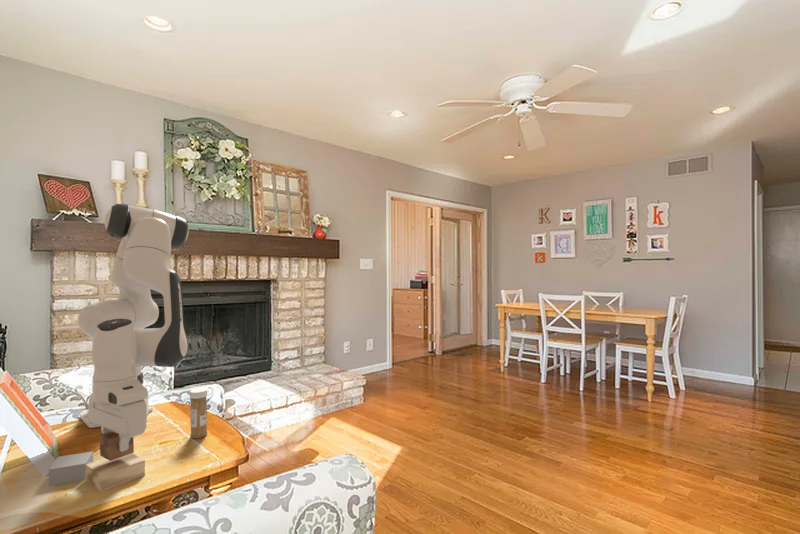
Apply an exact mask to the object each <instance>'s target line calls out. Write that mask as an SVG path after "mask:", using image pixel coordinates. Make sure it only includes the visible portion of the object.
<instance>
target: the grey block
mask: <svg viewBox="0 0 800 534" xmlns="http://www.w3.org/2000/svg"><path fill="white" fill-rule="evenodd" d="M92 462H94V451H93V450H92V451H87V452H80V453H74V454H65V455H61V456H60V455H59V456H58V457H57V458H56V460H55V461H54V462H53V463H52V464H51V466H50V467H49V469H48V486H55V485H62V484H67V483H71V482H72V483H73V482H79V481H84V480H85V481H86V464H89V463H92Z"/></svg>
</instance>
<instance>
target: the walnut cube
mask: <svg viewBox="0 0 800 534" xmlns="http://www.w3.org/2000/svg"><path fill="white" fill-rule="evenodd" d="M119 441H120V437H119V434H118V433H116V432H113V431H110V432H107V433H104V434H102V433H100V434H99V453H100V454H99V456H100V457H101V458H103V459H104V458H106V459H108V460H110V461H112V460H115V459H117V458H120V457H123V456H126V455H128V454H131V453H133V454H135V453H134V451H135V449H134V447H135V446H134V445H135V443H134V437H131V438H130V440H129V448H128V450H126V451H123V452H121V451H119V450H118V449H117V448H118V447H117V443H119Z"/></svg>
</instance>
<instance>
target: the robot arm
mask: <svg viewBox="0 0 800 534" xmlns="http://www.w3.org/2000/svg"><path fill="white" fill-rule="evenodd" d="M103 221H104V227H105V232H106V233H107V234H108V236H110V237H112V238H115V239H117V240H120V243H119V246H118V248H117V252H116V255H115V259H114V264H113V267H112V271H111V275H110V279H111V282H112V283H113V284H114V285H115V286H116V287H117V288H118V289H119V294H118V298H117V299H110V300H100V301H97V302H94V303H90V304H89V305H85V306H84V307H82V309H81V310H79V311H80V312H79V313H78V317H77V325H78V328H79V329H80V331H81V332H82V333H83V334H84V335H86V336H88V337H89V338H91V339H92V347H91V350H92V351H91V361H92V364H93V368H94V369H93V370H94V371H93V374H92V379H91V380H92V381H91V383H92V393H91V394H90V395H89V397H88V398H89V399H88V402H85V405H84V407H85V410H86V411H82V412H81V413H80V414H79V419H80V420H82V421H83V422H84V424H85V426H87V427H88V428H89V429H93V428H100V431H101V434H104V433H107V432H110V431H113V432H116V433H118V434H119V437H120V441H119V443H117V447H118V448H117V449H118V450H119V451H121V452H123V451H126V450H128V448H129V440H130V438H131V437H133V438H135V437H137V436H140V435H142V434H145V431H146V428H147V422H148V421H147V419H148V418H147V417H148V415H149V413H151V412H153V407H152V406H150V405H149V397H148V396H149V391H148V388H147V387H146V386H145V385H144V378H145V376H144V372H142V367H164V368H166V367H167V368H173V367H175V366H176V365H179V363H181V362H182V361H183V360H184V359H185V357H187V353H188V340H187V334H186V325H185V314H184V313H185V312H184V311H185V310H184V300H183V288H182V282H181V278H180V276H179V273H178V272H176V270H173V268H172V267H171V266H172V265H171V254H172V250H175V249H176V250H177V249H179V248H181V247H183V246H184V244H185V242H187V239H188V237H189V224H188V222H187V220H186V219H185V218H182V217H181V216H178V215H173V214H170V213H167V212H164V211H162V210H161V211H160V210H157V209H154V208H153V209H152V208H145V207H140V206H135V205H129V204H126V203H115V204H114V205H112V206H111V207H110V209H108V211H107V212H106V214H105V216H104V220H103ZM151 290H152V291H154V292H157V293H159V294H161V295H162V297H163V309H164V313H163V314H164V325H163V326H162V327H153V328H147V327H150V326H151V325H154V324H155V323H156V322H157V321H158V318H159V315H160V309H159V307H158V304H157V303H156V302H155V301H154V299H153V297H152V294H151V293H152V292H151Z"/></svg>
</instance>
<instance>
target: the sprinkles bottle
mask: <svg viewBox="0 0 800 534" xmlns="http://www.w3.org/2000/svg"><path fill="white" fill-rule="evenodd" d="M207 396H208V390H207V389H206V388H195V389H191V390H190V391H189V401H190V411H189V414H190V415H189V416H190V419H189V421H190V438H192V439H200V438H204V437H206V436H207V435H208V431H207V430H208V429H207V427H208V426H207V424H208V418H207V417H208V416H207V415H208V414H207V413H208V411H207Z"/></svg>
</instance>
